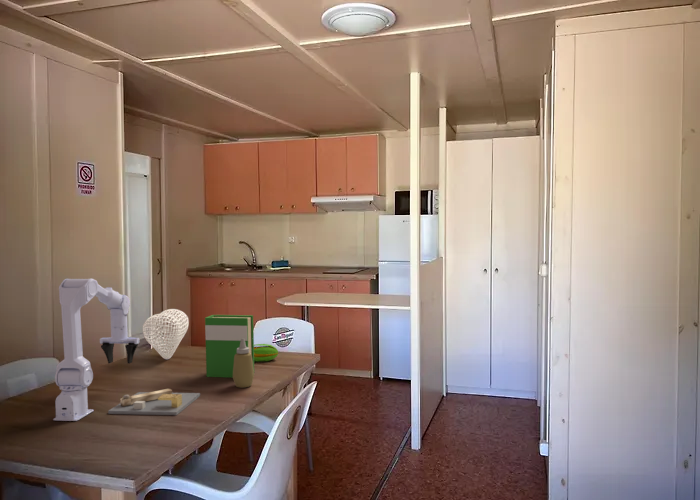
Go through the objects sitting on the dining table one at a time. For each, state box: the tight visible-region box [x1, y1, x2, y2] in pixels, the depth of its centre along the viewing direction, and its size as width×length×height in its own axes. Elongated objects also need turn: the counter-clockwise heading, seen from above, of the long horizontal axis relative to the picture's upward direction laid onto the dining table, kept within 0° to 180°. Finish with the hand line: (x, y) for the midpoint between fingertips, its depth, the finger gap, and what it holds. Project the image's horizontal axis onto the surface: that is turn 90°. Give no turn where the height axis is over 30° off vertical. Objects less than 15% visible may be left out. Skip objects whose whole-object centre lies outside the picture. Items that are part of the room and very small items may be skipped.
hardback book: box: [204, 314, 255, 379], centre depth 218 cm, size 18×7×24 cm, turn 81°
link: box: [119, 388, 173, 406], centre depth 183 cm, size 17×4×3 cm, turn 129°
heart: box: [142, 308, 190, 360], centre depth 247 cm, size 28×16×22 cm, turn 179°
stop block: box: [134, 401, 145, 409], centre depth 176 cm, size 2×3×2 cm, turn 84°
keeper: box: [158, 394, 182, 408], centre depth 178 cm, size 4×6×3 cm, turn 84°
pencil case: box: [254, 343, 279, 363], centre depth 242 cm, size 7×8×20 cm
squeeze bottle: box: [232, 338, 255, 389], centre depth 203 cm, size 8×8×18 cm
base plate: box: [107, 391, 201, 416], centre depth 182 cm, size 20×23×1 cm
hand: (120, 362), depth 200 cm, fingers open, 7 cm apart
